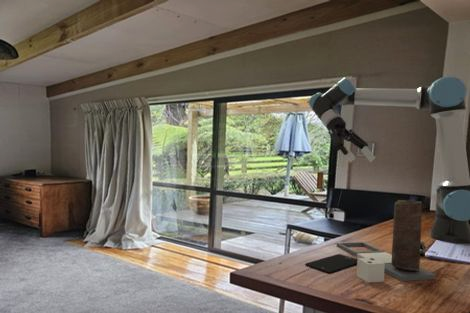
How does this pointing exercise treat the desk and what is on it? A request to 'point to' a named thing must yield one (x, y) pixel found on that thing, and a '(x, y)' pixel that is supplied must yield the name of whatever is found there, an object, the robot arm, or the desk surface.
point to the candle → (407, 235)
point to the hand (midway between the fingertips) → (363, 160)
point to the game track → (387, 262)
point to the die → (370, 269)
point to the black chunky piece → (422, 246)
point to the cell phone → (333, 263)
